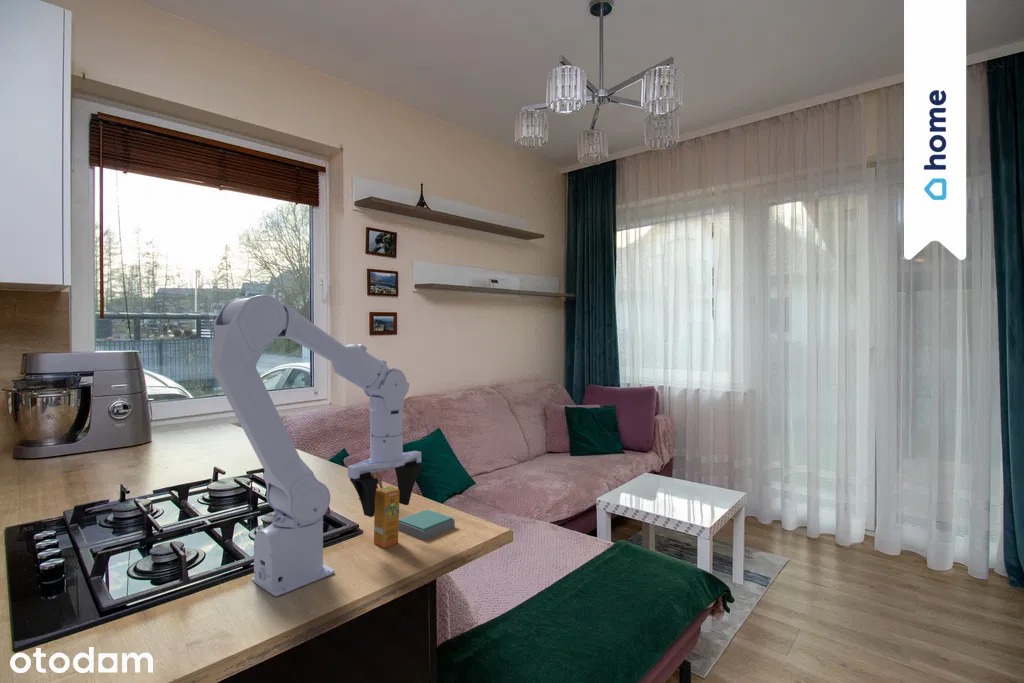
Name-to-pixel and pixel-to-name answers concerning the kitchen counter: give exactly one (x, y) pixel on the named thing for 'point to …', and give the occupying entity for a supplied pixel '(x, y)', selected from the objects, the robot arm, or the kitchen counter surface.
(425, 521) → the podium
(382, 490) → the supplement box
